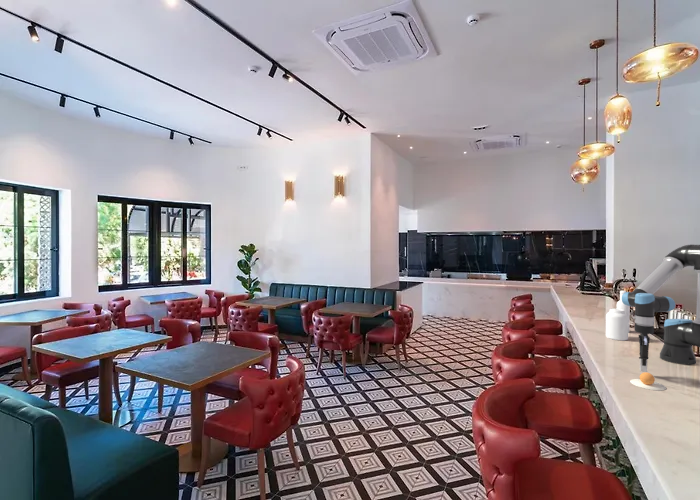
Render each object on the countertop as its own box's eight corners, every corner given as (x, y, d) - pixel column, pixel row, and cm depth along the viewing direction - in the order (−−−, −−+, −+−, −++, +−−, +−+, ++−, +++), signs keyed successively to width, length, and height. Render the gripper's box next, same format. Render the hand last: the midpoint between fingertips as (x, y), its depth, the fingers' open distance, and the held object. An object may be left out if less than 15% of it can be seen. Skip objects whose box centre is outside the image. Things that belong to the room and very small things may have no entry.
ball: (654, 386, 169) (653, 373, 171) (656, 385, 165) (655, 373, 166) (639, 383, 172) (638, 371, 174) (640, 383, 168) (640, 370, 169)
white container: (601, 337, 251) (601, 308, 250) (612, 335, 256) (612, 306, 256) (621, 341, 239) (621, 311, 239) (632, 339, 245) (632, 309, 244)
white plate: (663, 382, 171) (663, 382, 171) (668, 392, 160) (668, 392, 160) (628, 377, 178) (628, 377, 178) (631, 386, 167) (631, 386, 167)
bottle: (623, 333, 260) (624, 291, 260) (613, 330, 268) (613, 290, 267) (632, 332, 262) (632, 291, 262) (621, 329, 270) (622, 289, 269)
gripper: (633, 321, 188) (632, 366, 188) (636, 326, 177) (635, 374, 177) (651, 322, 183) (651, 368, 184) (656, 328, 173) (655, 377, 173)
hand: (643, 371), depth 181 cm, fingers closed
